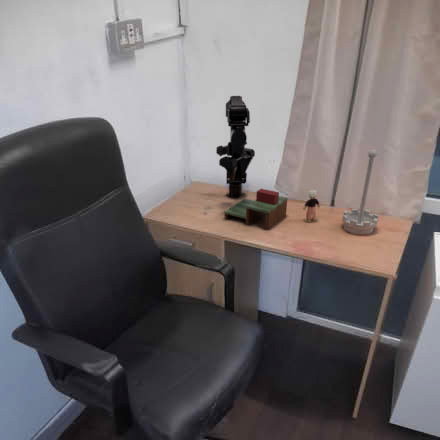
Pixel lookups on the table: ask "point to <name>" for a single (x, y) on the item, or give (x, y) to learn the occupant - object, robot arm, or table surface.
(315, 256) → the table surface
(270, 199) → the red rectangular block
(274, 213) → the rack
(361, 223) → the flag stand
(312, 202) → the grandmother figurine
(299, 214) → the table surface
